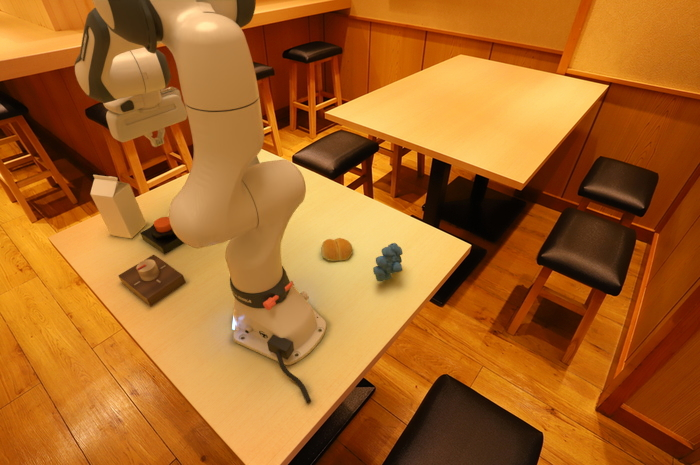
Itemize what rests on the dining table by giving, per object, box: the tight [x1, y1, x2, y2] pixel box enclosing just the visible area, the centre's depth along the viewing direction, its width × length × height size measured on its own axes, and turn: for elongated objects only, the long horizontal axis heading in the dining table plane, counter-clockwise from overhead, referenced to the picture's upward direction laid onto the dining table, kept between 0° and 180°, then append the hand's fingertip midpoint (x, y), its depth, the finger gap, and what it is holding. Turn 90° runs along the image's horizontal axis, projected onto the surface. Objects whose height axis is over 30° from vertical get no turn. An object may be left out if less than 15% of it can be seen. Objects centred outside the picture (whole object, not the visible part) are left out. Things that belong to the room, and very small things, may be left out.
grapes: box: [372, 242, 403, 282], centre depth 96 cm, size 12×7×12 cm, turn 141°
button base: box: [140, 223, 185, 255], centre depth 110 cm, size 11×10×4 cm
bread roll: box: [320, 237, 353, 262], centre depth 107 cm, size 8×9×4 cm
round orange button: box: [153, 216, 172, 233], centre depth 109 cm, size 5×5×2 cm
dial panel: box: [117, 254, 186, 308], centre depth 97 cm, size 13×10×3 cm
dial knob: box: [136, 259, 160, 281], centre depth 95 cm, size 4×4×4 cm
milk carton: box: [89, 174, 147, 239], centre depth 108 cm, size 7×7×19 cm
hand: (158, 144), depth 104 cm, fingers closed
